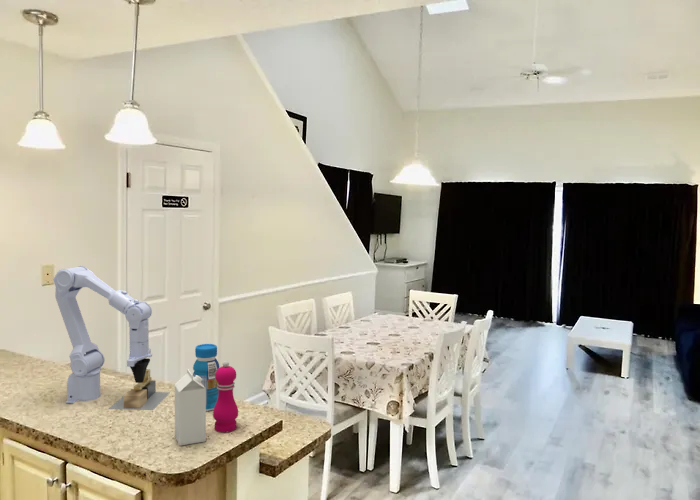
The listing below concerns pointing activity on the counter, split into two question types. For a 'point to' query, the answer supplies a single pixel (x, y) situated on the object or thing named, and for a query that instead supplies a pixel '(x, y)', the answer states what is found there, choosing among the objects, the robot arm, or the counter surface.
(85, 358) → the robot arm
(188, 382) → the milk carton
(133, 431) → the counter surface
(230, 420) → the pepper mill
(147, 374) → the latch bolt
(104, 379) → the counter surface
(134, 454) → the counter surface
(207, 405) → the beverage bottle
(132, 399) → the oak cover
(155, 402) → the housing plate
